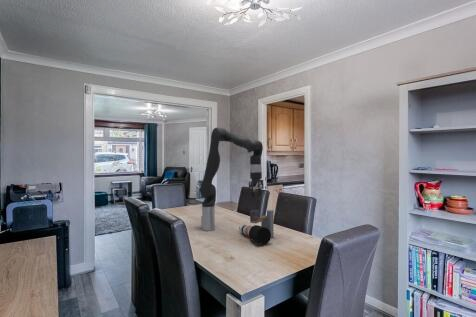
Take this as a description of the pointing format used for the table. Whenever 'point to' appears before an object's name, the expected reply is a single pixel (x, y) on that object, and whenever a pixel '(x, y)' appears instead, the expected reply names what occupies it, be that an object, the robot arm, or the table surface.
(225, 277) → the table surface
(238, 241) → the table surface
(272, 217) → the clamp post
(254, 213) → the hold down bar
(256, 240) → the telephoto camera lens
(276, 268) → the table surface
